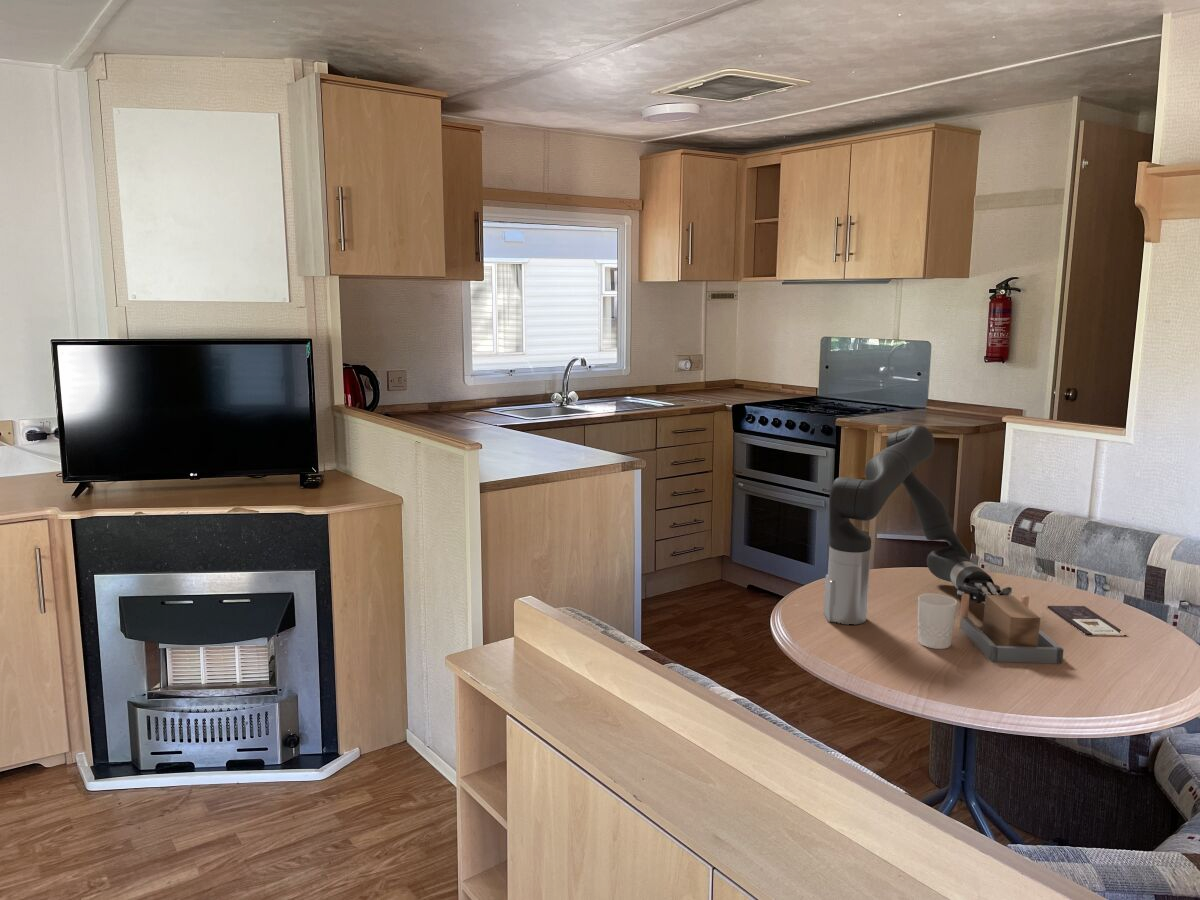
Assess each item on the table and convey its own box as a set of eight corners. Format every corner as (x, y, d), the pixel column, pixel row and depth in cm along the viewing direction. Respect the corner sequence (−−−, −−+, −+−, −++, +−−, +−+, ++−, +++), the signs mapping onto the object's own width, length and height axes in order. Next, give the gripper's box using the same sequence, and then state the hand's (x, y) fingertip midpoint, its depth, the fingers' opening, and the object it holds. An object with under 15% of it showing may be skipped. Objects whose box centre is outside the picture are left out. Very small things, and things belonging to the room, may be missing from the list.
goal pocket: (990, 661, 187) (993, 624, 186) (958, 626, 206) (960, 593, 205) (1063, 663, 187) (1067, 626, 185) (1024, 628, 206) (1027, 595, 204)
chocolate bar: (1084, 606, 220) (1126, 633, 202) (1084, 609, 220) (1126, 637, 202) (1047, 605, 220) (1086, 633, 202) (1047, 609, 220) (1086, 637, 202)
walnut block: (1007, 658, 189) (1011, 617, 188) (982, 633, 203) (985, 594, 202) (1036, 658, 189) (1040, 618, 188) (1009, 633, 203) (1013, 595, 201)
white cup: (947, 637, 200) (951, 594, 199) (957, 651, 193) (961, 606, 191) (911, 635, 201) (914, 592, 199) (919, 649, 193) (923, 605, 192)
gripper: (944, 565, 219) (970, 588, 202) (1000, 566, 218) (1030, 590, 201) (942, 594, 220) (967, 620, 203) (997, 596, 219) (1027, 622, 202)
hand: (998, 605), depth 202 cm, fingers closed
